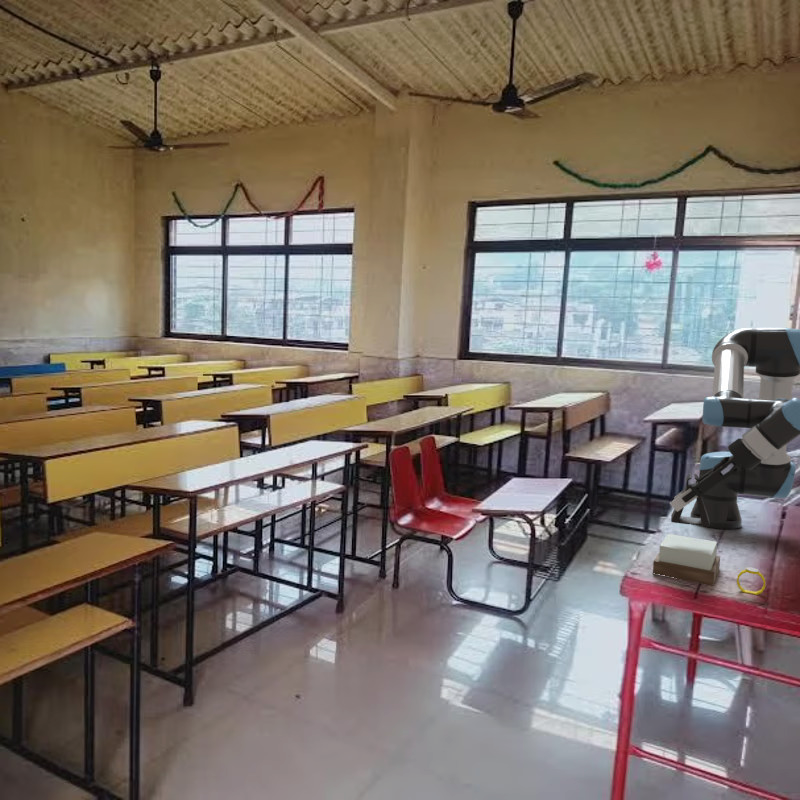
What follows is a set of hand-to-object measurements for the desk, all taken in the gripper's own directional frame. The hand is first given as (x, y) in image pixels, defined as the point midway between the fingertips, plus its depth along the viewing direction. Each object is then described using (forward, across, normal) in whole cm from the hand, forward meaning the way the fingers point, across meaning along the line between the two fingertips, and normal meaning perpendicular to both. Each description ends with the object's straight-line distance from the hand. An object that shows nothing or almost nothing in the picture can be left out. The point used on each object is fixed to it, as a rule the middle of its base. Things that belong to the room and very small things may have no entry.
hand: (675, 504), depth 169 cm
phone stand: (0, 0, -6) cm, 6 cm away
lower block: (+10, 0, -15) cm, 18 cm away
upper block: (+7, 0, -12) cm, 14 cm away
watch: (-1, -6, -26) cm, 26 cm away
